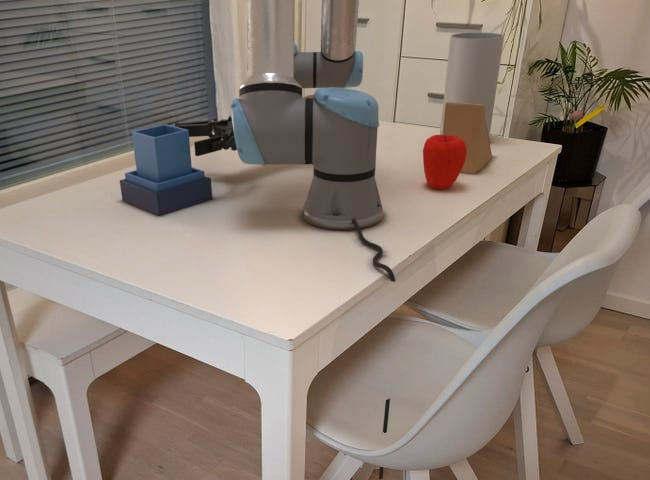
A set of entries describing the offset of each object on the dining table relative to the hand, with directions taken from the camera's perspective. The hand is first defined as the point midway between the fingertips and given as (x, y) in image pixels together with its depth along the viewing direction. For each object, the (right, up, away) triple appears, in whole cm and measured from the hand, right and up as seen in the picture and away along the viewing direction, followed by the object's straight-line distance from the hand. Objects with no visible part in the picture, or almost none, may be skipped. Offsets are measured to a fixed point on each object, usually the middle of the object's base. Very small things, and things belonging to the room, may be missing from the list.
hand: (175, 143), depth 140 cm
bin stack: (-2, -11, +4) cm, 12 cm away
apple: (+57, -8, +6) cm, 58 cm away
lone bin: (-2, -10, +4) cm, 10 cm away
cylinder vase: (+71, +12, +37) cm, 81 cm away
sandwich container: (+67, +1, +20) cm, 70 cm away
